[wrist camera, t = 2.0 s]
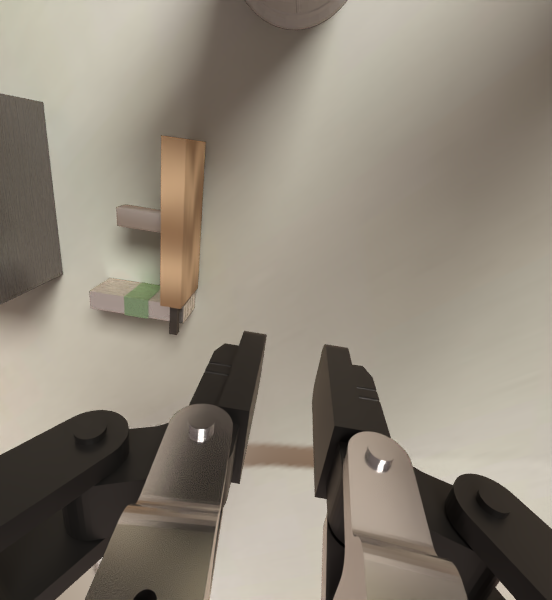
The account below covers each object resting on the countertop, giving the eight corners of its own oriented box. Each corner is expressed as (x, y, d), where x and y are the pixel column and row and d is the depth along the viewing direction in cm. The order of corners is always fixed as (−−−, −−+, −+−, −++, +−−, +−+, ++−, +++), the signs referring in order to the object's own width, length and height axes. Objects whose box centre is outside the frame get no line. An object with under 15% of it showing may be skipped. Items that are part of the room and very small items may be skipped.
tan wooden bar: (133, 130, 26) (99, 125, 22) (205, 141, 26) (186, 139, 22) (137, 305, 32) (111, 328, 27) (196, 315, 32) (179, 340, 27)
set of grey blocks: (-37, 90, 26) (-157, 66, 19) (203, 127, 26) (167, 116, 19) (0, 276, 32) (-82, 308, 25) (194, 307, 32) (164, 349, 25)
